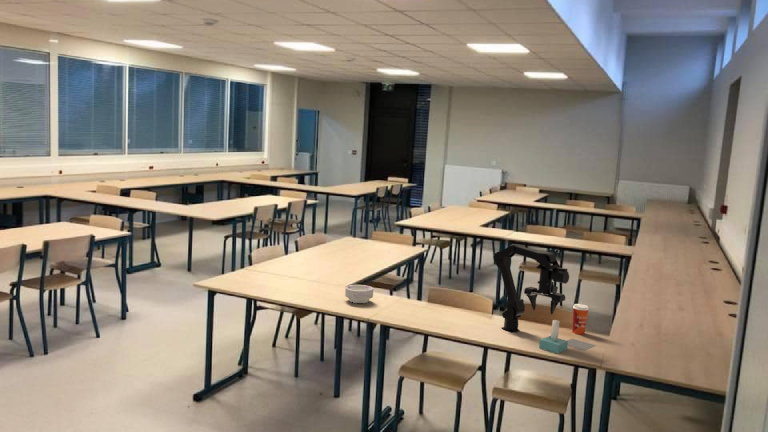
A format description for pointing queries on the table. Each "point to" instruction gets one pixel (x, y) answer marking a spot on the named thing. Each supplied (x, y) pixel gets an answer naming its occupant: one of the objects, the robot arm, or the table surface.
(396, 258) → the table surface
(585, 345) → the grey mat
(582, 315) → the paper cup
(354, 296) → the light grey bowl
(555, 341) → the teal cover
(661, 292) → the table surface
